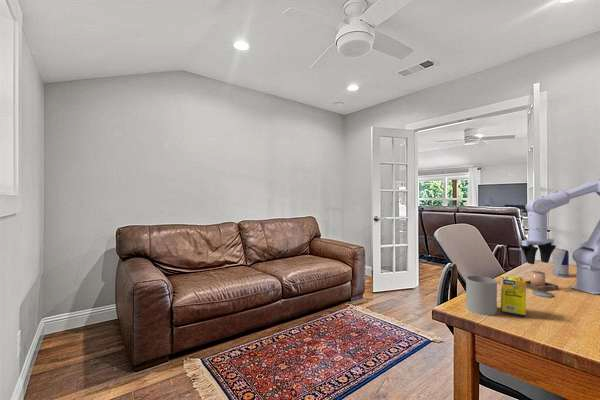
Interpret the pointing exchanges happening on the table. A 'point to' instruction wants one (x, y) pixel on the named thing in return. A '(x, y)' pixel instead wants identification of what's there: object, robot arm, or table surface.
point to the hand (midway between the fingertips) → (537, 262)
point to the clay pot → (537, 278)
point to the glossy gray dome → (542, 293)
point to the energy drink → (561, 262)
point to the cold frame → (541, 288)
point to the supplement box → (513, 295)
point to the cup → (481, 295)
